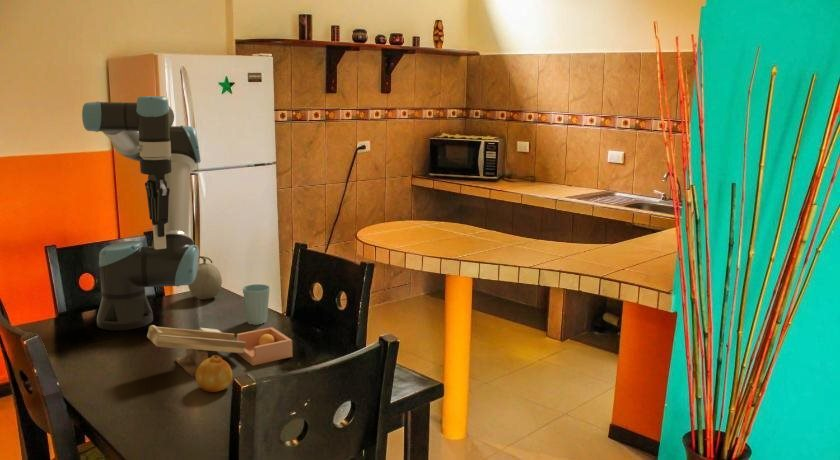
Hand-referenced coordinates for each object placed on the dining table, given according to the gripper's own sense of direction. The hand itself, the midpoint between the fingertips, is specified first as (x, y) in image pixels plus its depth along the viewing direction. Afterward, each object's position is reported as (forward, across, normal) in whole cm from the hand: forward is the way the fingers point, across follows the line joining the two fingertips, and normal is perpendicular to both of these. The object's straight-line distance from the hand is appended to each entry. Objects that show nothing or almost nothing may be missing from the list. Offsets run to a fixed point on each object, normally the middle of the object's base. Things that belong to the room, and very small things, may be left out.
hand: (160, 248), depth 193 cm
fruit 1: (+27, -35, +24) cm, 50 cm away
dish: (+26, +20, +19) cm, 38 cm away
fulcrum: (+26, +19, +2) cm, 33 cm away
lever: (+21, +14, +2) cm, 26 cm away
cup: (+27, -4, +28) cm, 39 cm away
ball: (+24, +19, +21) cm, 37 cm away
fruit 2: (+27, +34, 0) cm, 44 cm away
